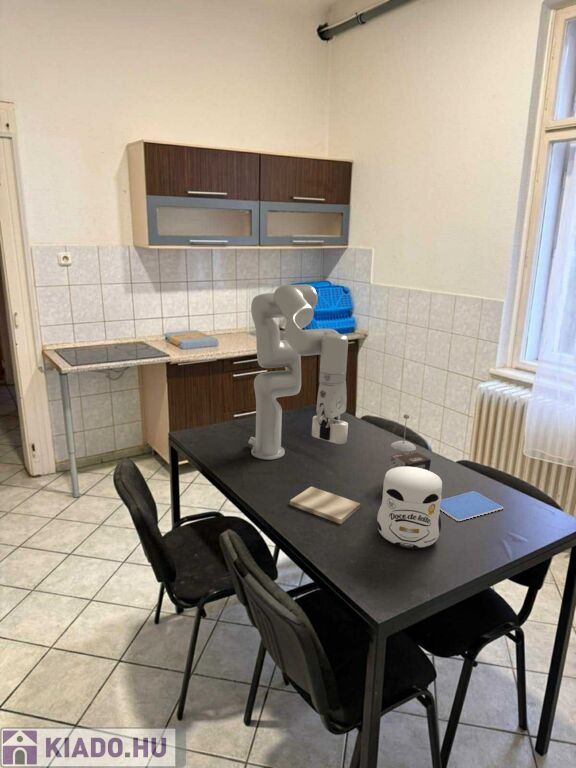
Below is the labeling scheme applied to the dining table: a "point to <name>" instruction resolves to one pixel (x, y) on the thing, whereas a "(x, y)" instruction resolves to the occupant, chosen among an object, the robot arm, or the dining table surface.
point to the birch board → (325, 504)
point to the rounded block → (332, 430)
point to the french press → (401, 447)
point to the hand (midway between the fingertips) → (329, 435)
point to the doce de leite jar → (410, 507)
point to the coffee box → (413, 461)
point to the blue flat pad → (468, 506)
